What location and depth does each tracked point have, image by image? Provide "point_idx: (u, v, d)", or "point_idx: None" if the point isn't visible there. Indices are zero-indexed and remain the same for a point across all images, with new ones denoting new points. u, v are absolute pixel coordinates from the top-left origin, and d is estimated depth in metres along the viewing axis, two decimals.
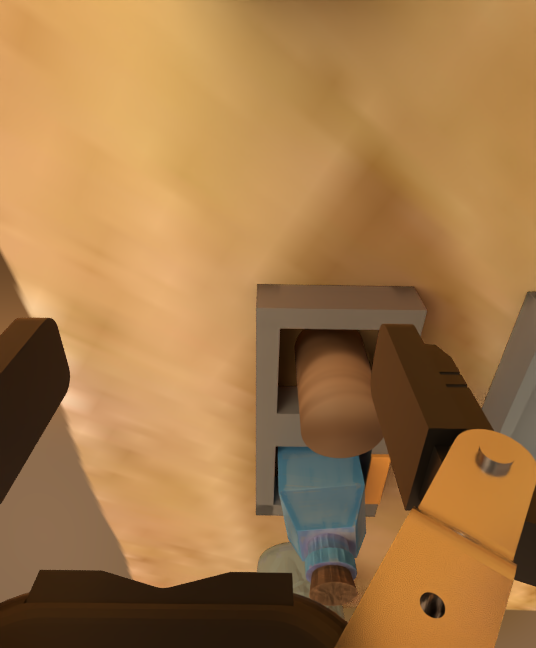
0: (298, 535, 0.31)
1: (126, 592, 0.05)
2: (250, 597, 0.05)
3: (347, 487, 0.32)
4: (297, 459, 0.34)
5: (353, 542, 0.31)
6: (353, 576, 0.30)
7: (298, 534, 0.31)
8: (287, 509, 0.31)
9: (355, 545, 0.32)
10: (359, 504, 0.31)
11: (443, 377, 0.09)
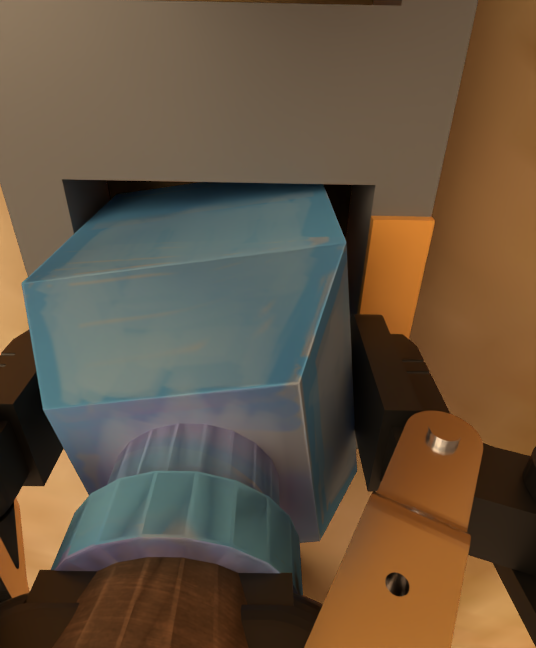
0: (60, 435, 0.07)
1: None
2: (250, 597, 0.05)
3: (279, 255, 0.08)
4: (134, 225, 0.11)
5: (301, 473, 0.08)
6: None
7: (57, 429, 0.07)
8: (34, 337, 0.08)
9: (310, 487, 0.08)
10: (323, 305, 0.07)
11: (407, 364, 0.10)
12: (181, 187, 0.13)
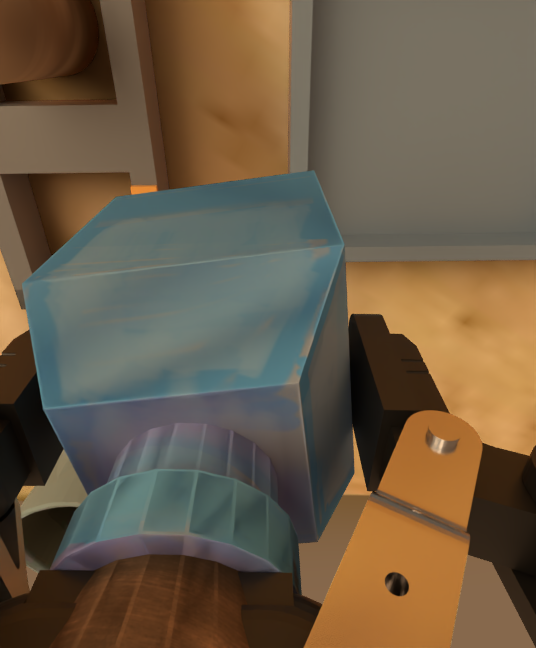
0: (59, 434, 0.07)
1: None
2: (250, 597, 0.05)
3: (277, 256, 0.08)
4: (134, 228, 0.11)
5: (299, 473, 0.08)
6: None
7: (57, 428, 0.07)
8: (34, 337, 0.08)
9: (308, 487, 0.08)
10: (322, 306, 0.07)
11: (406, 364, 0.10)
12: (180, 190, 0.13)
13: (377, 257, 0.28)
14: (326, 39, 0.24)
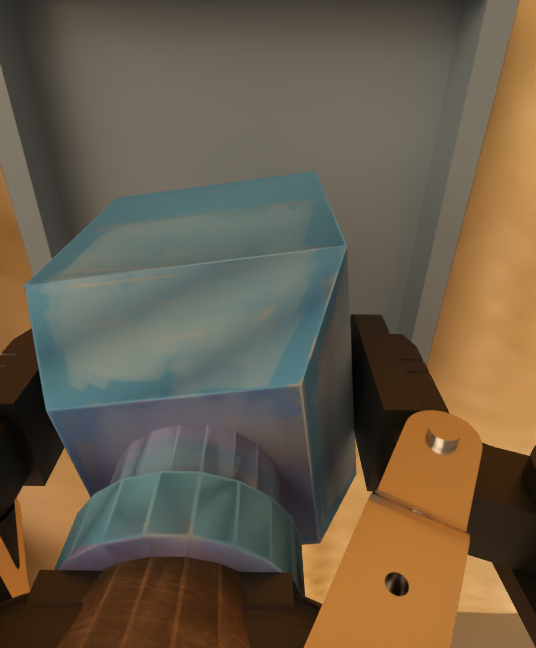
0: (62, 436, 0.07)
1: None
2: (250, 597, 0.05)
3: (281, 258, 0.08)
4: (136, 228, 0.11)
5: (302, 475, 0.08)
6: None
7: (60, 430, 0.07)
8: (36, 338, 0.08)
9: (311, 488, 0.08)
10: (325, 308, 0.07)
11: (406, 364, 0.10)
12: (182, 191, 0.13)
13: None
14: (72, 141, 0.18)
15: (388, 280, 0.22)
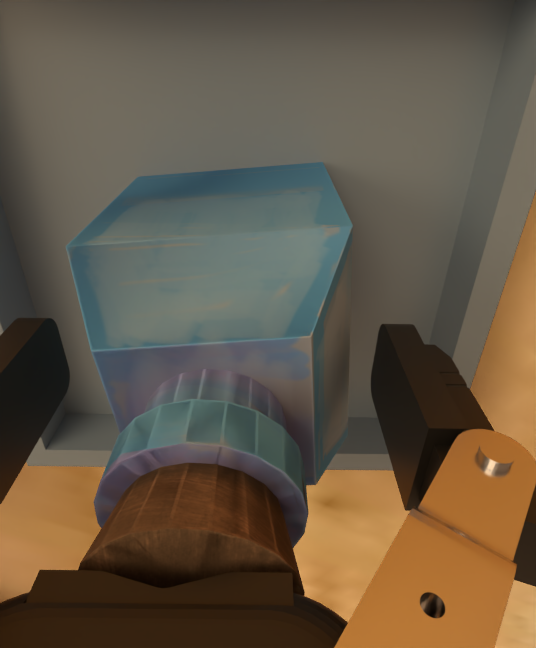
0: (102, 375, 0.08)
1: (126, 592, 0.05)
2: (250, 597, 0.05)
3: (295, 233, 0.09)
4: (160, 204, 0.12)
5: (305, 419, 0.09)
6: (293, 528, 0.07)
7: (100, 369, 0.08)
8: (79, 292, 0.09)
9: (312, 433, 0.09)
10: (332, 276, 0.09)
11: (443, 377, 0.09)
12: (199, 174, 0.14)
13: None
14: (21, 166, 0.15)
15: None
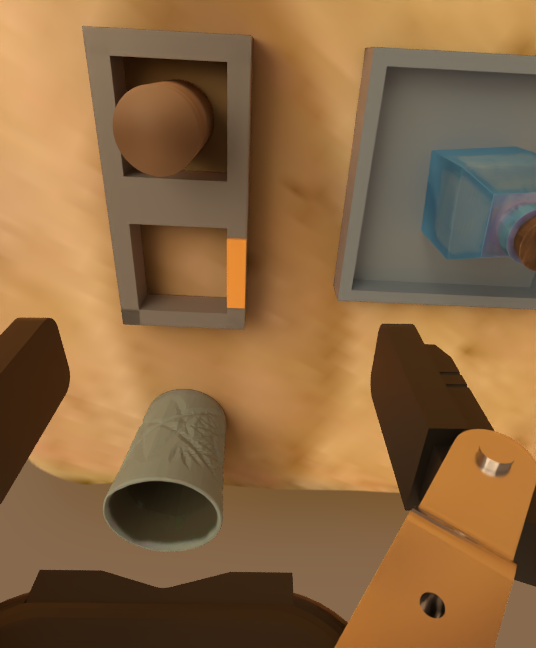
0: (492, 204, 0.26)
1: (126, 593, 0.05)
2: (250, 597, 0.05)
3: None
4: (470, 158, 0.30)
5: None
6: None
7: (493, 201, 0.26)
8: (476, 180, 0.27)
9: None
10: None
11: (443, 377, 0.09)
12: (462, 149, 0.33)
13: (405, 300, 0.37)
14: (381, 143, 0.33)
15: None
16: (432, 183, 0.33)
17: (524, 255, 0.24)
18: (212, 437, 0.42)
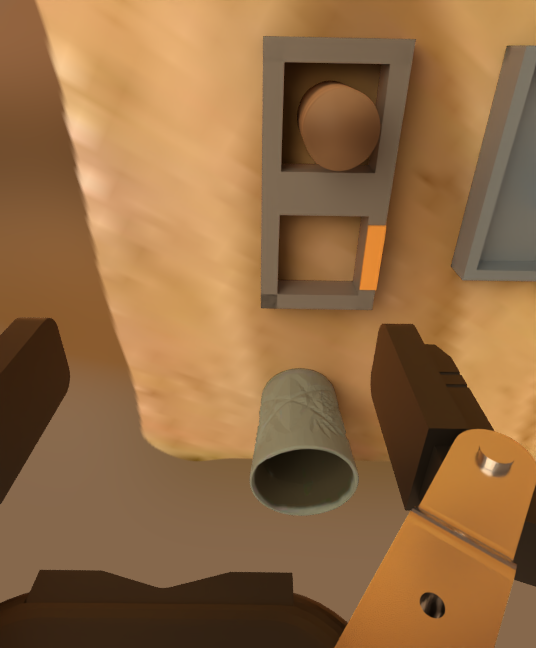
0: None
1: (126, 592, 0.05)
2: (250, 597, 0.05)
3: None
4: None
5: None
6: None
7: None
8: None
9: None
10: None
11: (443, 377, 0.09)
12: None
13: (525, 278, 0.40)
14: None
15: None
16: None
17: None
18: (335, 411, 0.46)
